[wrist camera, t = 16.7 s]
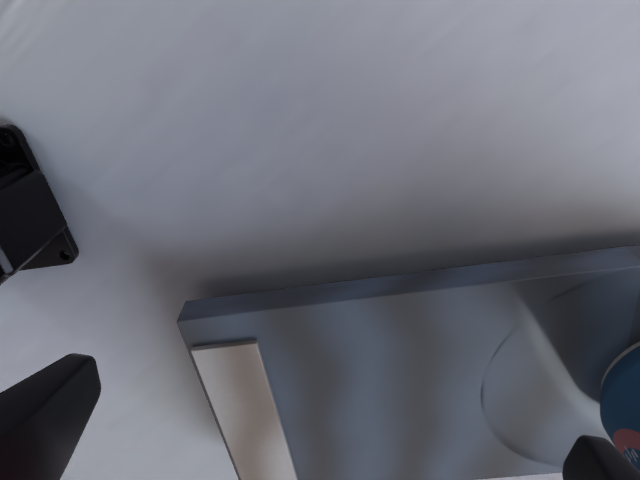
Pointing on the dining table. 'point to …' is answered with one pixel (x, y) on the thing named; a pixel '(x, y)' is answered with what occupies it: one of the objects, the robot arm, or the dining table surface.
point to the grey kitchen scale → (417, 368)
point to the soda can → (623, 403)
